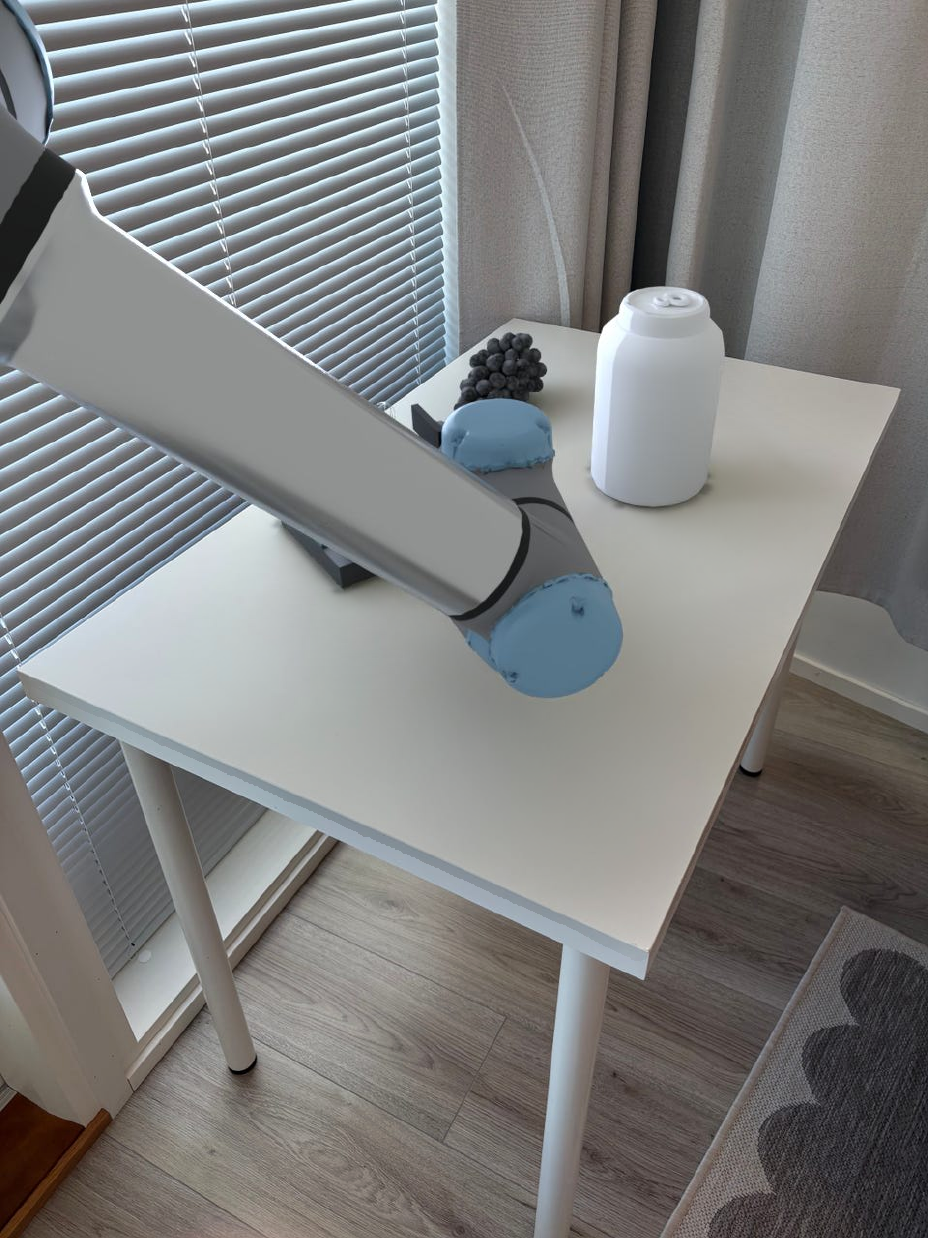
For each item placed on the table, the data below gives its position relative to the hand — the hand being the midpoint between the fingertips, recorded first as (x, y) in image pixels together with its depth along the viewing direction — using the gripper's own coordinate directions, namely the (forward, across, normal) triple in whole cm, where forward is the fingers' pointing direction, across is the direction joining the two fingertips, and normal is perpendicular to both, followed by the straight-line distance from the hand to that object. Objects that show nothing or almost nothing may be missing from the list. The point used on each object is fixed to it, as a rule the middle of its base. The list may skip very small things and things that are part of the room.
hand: (353, 431), depth 94 cm
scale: (-3, 0, -10) cm, 10 cm away
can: (-9, +30, -10) cm, 33 cm away
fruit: (+14, +23, -10) cm, 29 cm away
